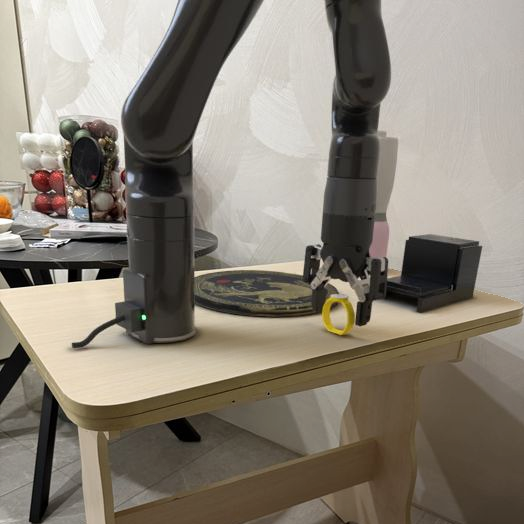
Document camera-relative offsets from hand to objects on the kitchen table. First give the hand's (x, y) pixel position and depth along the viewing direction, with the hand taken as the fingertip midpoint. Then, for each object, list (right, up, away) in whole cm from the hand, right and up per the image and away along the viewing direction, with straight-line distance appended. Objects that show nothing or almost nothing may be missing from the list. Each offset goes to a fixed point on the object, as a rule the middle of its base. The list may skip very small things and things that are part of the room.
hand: (339, 318), depth 81 cm
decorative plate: (-12, +6, +21) cm, 25 cm away
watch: (0, -2, +1) cm, 3 cm away
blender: (+13, +15, +51) cm, 55 cm away
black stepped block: (+21, +6, +25) cm, 33 cm away
